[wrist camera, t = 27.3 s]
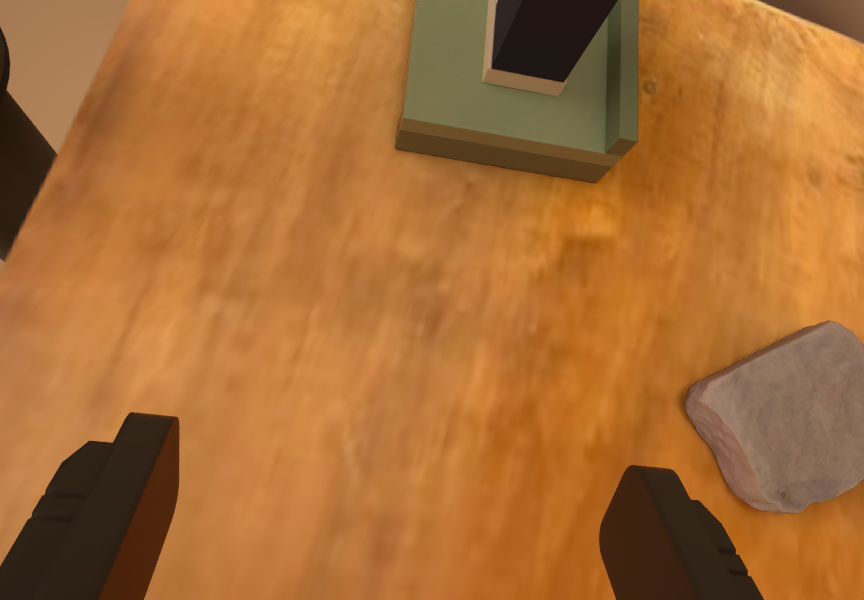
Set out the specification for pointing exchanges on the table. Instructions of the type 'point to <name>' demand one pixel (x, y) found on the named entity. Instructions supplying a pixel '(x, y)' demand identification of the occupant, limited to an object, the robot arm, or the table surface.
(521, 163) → the green flanged plate
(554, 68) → the high-top shoe
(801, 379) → the stone block
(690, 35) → the table surface
